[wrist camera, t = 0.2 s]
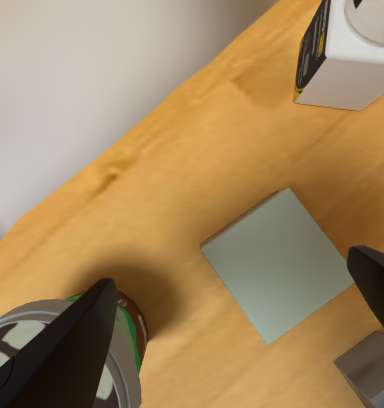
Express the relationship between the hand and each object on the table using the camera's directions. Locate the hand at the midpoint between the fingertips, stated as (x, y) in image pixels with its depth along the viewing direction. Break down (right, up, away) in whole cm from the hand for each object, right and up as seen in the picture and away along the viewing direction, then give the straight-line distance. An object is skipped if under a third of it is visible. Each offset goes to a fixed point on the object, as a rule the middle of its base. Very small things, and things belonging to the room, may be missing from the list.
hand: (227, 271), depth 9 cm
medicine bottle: (+13, +16, +16) cm, 26 cm away
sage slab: (+6, -3, +12) cm, 14 cm away
